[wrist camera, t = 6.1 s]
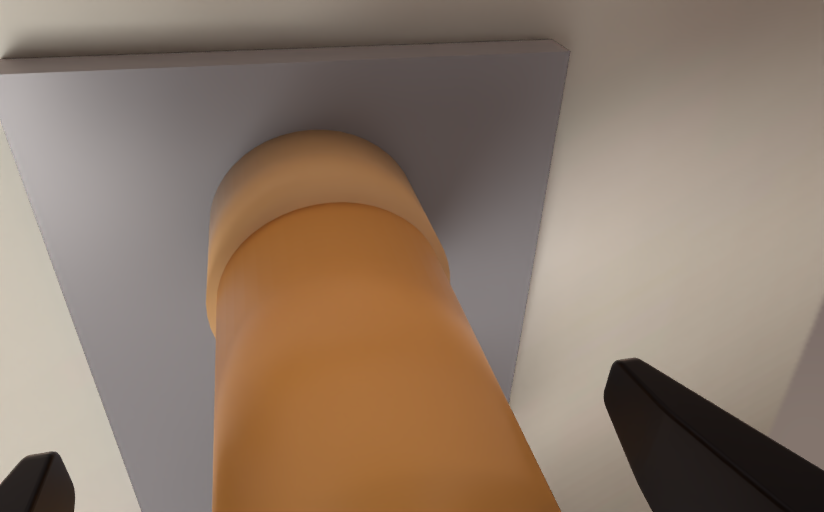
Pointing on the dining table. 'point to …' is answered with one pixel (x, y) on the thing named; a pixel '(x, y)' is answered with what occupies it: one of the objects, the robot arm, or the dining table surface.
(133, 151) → the junction plate
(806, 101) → the dining table surface
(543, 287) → the dining table surface
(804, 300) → the dining table surface
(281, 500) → the orange capsule
